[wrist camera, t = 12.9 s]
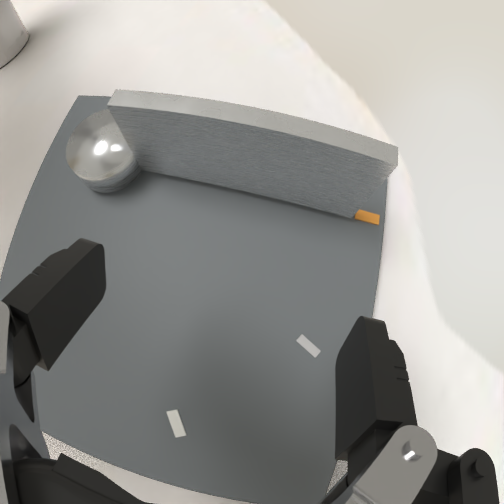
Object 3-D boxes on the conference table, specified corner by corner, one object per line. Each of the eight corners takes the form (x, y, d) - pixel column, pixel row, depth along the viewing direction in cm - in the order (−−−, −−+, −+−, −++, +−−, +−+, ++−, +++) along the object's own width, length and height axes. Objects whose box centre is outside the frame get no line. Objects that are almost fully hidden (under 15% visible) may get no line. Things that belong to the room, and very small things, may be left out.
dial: (70, 186, 23) (17, 132, 15) (99, 126, 25) (62, 63, 16) (345, 250, 22) (395, 207, 14) (355, 177, 24) (397, 114, 16)
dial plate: (-9, 391, 20) (-19, 392, 19) (83, 104, 28) (78, 94, 26) (315, 501, 19) (320, 510, 18) (382, 157, 27) (388, 148, 25)
